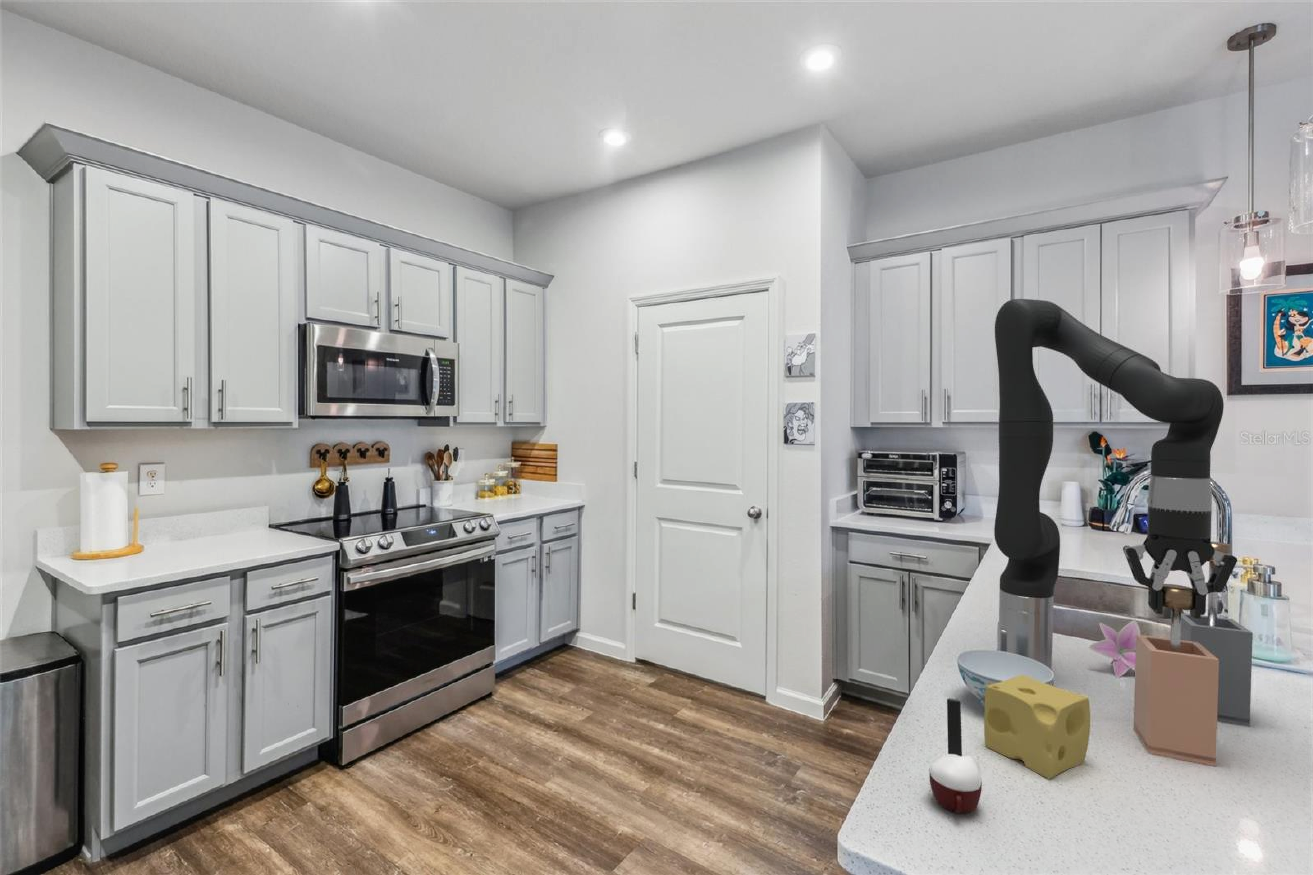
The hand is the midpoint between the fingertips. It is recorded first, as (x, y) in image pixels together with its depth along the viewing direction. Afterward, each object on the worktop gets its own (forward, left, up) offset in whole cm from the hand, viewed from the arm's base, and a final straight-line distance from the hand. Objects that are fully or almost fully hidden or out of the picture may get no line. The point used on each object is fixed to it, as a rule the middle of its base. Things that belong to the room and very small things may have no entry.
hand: (1176, 614), depth 94 cm
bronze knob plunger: (0, 0, -12) cm, 12 cm away
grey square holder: (+10, +18, -21) cm, 29 cm away
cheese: (-20, -12, -21) cm, 32 cm away
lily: (+1, +32, -21) cm, 39 cm away
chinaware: (-23, +3, -21) cm, 32 cm away
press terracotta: (0, 0, -21) cm, 21 cm away
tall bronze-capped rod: (+10, +18, -7) cm, 22 cm away
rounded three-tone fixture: (-31, -31, -21) cm, 49 cm away
